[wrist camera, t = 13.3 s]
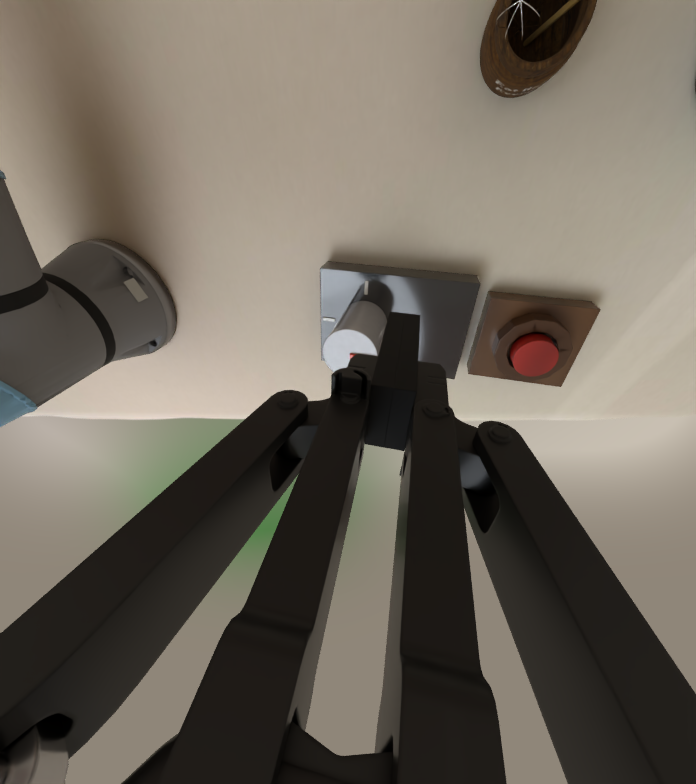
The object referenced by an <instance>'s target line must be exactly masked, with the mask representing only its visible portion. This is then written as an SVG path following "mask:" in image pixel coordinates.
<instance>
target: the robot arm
mask: <svg viewBox="0 0 696 784" xmlns="http://www.w3.org/2000/svg"><path fill="white" fill-rule="evenodd" d="M4 179H6V177H5V175H4V173H3V172H2V171H1V170H0V427H1V426H3V425H5V424H7V423H9V422H11V421H13V420H15V419H17V418H19V417H20V416H22V415H24V414H26V413H29V412H33V411H35V410H36V409H37V407H39V406H40V405H42V404H44V403H45V402H47V401H48V400H50V399H52V398H53V397H55V396H56V395H58V394H60V393H61V392H63V391H64V390H66V389H68V388H69V387H71V386H72V385H74V384H76V383H77V382H79V381H80V380H82V379H84V378H85V377H87V376H88V375H90V374H92V373H93V372H95V371H97V370H98V369H100V368H101V367H103V366H105V365H106V364H108V363H110V362H112V361H116V360H121V359H126V358H130V357H135V356H140V355H144V354H150V353H153V352H155V351H156V350H158V349H160V348H161V347H163V346H164V345H165V344H167V343H168V342H169V341H170V340H171V338H172V337H173V334H174V332H175V327H176V314H175V309H174V305H173V302H172V299H171V297H170V295H169V293H168V291H167V289H166V287H165V285H164V284H163V282H162V281H161V279H160V278H159V276H158V275H157V274H156V272H155V271H154V270H153V269H152V268H151V267H150V266H149V265H148V264H147V263H146V262H145V261H144V260H143V259H142V258H141V257H139V256H138V255H137V254H135V253H134V252H132V251H131V250H129V249H128V248H126V247H124V246H122V245H120V244H118V243H115V242H112V241H108V240H102V239H94V240H89V241H84V242H79V243H76V244H73V245H71V246H70V247H68V248H67V249H66V250H65V251H63V252H62V253H61V254H60V255H58V256H57V257H56V258H55V259H53V260H52V261H51V262H50V263H48V264H47V265H46V266H45V267H43V268H42V269H41V268H40V265H39V263H38V261H37V258H36V256H35V254H34V251H33V249H32V247H31V244H30V242H29V240H28V237H27V235H26V233H25V230H24V228H23V225H22V223H21V220H20V218H19V215H18V213H17V210H16V208H15V206H14V203H13V201H12V198H11V196H10V193H9V191H8V188H7V186H6V183H5V181H4ZM419 335H420V315H416V314H408V313H400V312H391V311H390V312H389V316H388V320H387V324H386V328H385V332H384V336H383V339H382V343H381V347H380V351H379V355H378V356H373V355H366V354H358V353H357V354H356V355H355V356H353V357H352V358H350V361H349V363H348V366H347V367H346V368H341V369H338V370H336V371H335V372H334V373H333V374H332V386H331V397H330V398H328V399H325V400H320V401H308V398H307V397H306V396H305V394H303V393H301V392H299V391H294V390H284V391H281V392H277V393H276V394H274V395H273V396H271V397H270V398H269V399H268V400H267V401H266V402H264V403H263V404H262V405H261V406H260V407H259V408H258V409H256V410H255V411H254V412H253V413H252V414H251V415H250V416H248V417H247V418H246V419H245V420H244V421H243V422H242V423H240V424H239V425H238V426H237V427H236V428H235V429H234V430H233V431H231V432H230V433H229V434H228V435H227V436H226V437H224V438H223V439H222V440H221V441H220V442H219V443H218V444H216V445H215V446H214V447H213V448H212V449H211V450H210V451H209V452H207V453H206V454H205V455H204V456H203V457H202V458H200V459H199V460H198V461H197V462H196V463H195V464H194V465H192V466H191V467H190V468H189V469H188V470H187V471H186V472H184V473H183V474H182V475H181V476H180V477H179V478H178V479H177V480H175V481H174V482H173V483H172V484H171V485H170V486H169V487H167V488H166V489H165V490H164V491H163V492H162V493H161V494H159V495H158V496H157V497H156V498H155V499H154V500H153V501H152V502H150V503H149V504H148V505H147V506H146V507H145V508H143V509H142V510H141V511H140V512H139V513H138V514H137V515H135V516H134V517H133V518H132V519H131V520H130V521H129V522H128V523H126V524H125V525H124V526H123V527H122V528H121V529H120V530H118V531H117V532H116V533H115V534H114V535H113V536H111V537H110V538H109V539H108V540H107V541H106V542H105V543H103V544H102V545H101V546H100V547H99V548H98V549H97V550H95V551H94V552H93V553H92V554H91V555H90V556H89V557H88V558H86V559H85V560H84V561H83V562H82V563H81V564H80V565H79V566H77V567H76V568H75V569H74V570H73V571H72V572H70V573H69V574H68V575H67V576H66V577H65V578H64V579H62V580H61V581H60V582H59V583H58V584H57V585H56V586H54V587H53V588H52V589H51V590H50V591H49V592H48V593H47V594H45V595H44V596H43V597H42V598H41V599H40V600H38V601H37V602H36V603H35V604H34V605H33V606H32V607H31V608H29V609H28V610H27V611H26V612H25V613H24V614H22V615H21V616H20V617H19V618H18V619H17V620H16V621H14V622H13V623H12V624H11V625H10V626H9V627H8V628H7V629H5V630H4V631H3V632H2V633H0V784H65V778H66V773H67V769H68V759H69V758H70V757H72V756H73V754H75V753H76V752H77V751H78V750H79V749H80V748H81V747H82V746H83V745H84V744H85V743H87V742H88V740H89V739H90V738H91V737H92V736H93V735H94V734H95V733H96V732H97V731H98V730H99V729H100V727H102V726H103V724H104V723H105V722H106V721H107V720H108V719H109V718H110V717H111V716H112V715H113V714H114V713H115V712H116V711H117V709H118V708H119V707H120V706H121V704H122V703H123V702H124V701H125V700H126V698H127V697H128V696H129V694H131V692H132V691H133V690H134V688H135V687H136V686H137V685H138V684H139V682H140V681H141V680H142V679H143V677H144V676H145V675H146V673H147V672H148V671H149V669H150V668H151V667H152V665H153V664H154V663H155V662H156V660H157V659H158V658H159V656H160V655H161V654H162V652H163V651H164V650H165V648H166V647H167V646H168V644H169V643H170V642H171V640H172V639H173V638H174V636H175V635H176V634H177V633H178V631H179V630H180V629H181V627H182V626H183V625H184V623H185V622H186V621H187V619H188V618H189V617H190V616H191V614H192V613H193V611H194V610H195V609H196V607H197V606H198V605H199V604H200V602H201V601H202V600H203V598H204V597H205V596H206V595H207V593H208V592H209V591H210V589H211V588H212V586H213V585H214V584H215V583H216V581H217V580H218V579H219V577H220V576H221V575H222V574H223V572H224V571H225V570H226V568H227V567H228V566H229V564H230V563H231V562H232V560H233V559H234V558H235V556H236V555H237V554H238V553H239V551H240V550H241V548H242V547H243V546H244V545H245V543H246V542H247V541H248V539H249V538H250V537H251V535H252V534H253V533H254V532H255V530H256V529H257V527H258V526H259V525H260V524H261V522H262V521H263V520H264V518H265V517H266V516H267V514H268V513H269V512H270V510H271V509H272V508H273V506H274V505H275V504H276V503H277V501H278V500H279V499H280V497H281V496H282V495H283V493H284V492H285V491H286V489H287V488H288V487H289V486H290V484H291V483H292V482H293V480H294V479H295V478H296V476H297V475H298V474H299V475H298V477H297V480H296V482H295V484H294V487H293V489H292V492H291V494H290V497H289V499H288V502H287V504H286V507H285V509H284V511H283V514H282V516H281V519H280V521H279V523H278V526H277V528H276V531H275V533H274V536H273V538H272V540H271V543H270V545H269V548H268V550H267V553H266V555H265V558H264V560H263V562H262V565H261V567H260V570H259V572H258V575H257V577H256V579H255V582H254V585H253V587H252V589H251V592H250V594H249V596H248V599H247V601H246V603H245V605H244V607H243V609H242V611H241V612H240V613H239V614H238V615H236V616H235V617H234V618H232V619H231V621H230V622H229V624H228V626H227V627H226V628H225V630H224V632H223V634H222V636H221V638H220V640H219V642H218V645H217V647H216V649H215V651H214V654H213V656H212V659H211V661H210V663H209V665H208V667H207V670H206V672H205V674H204V677H203V679H202V681H201V684H200V686H199V688H198V690H197V693H196V695H195V698H194V700H193V702H192V704H191V707H190V709H189V711H188V714H187V716H186V718H185V720H184V723H183V725H182V727H181V730H180V732H179V733H178V734H177V735H175V736H174V737H173V738H171V739H170V740H169V741H167V742H166V743H165V744H164V745H163V746H161V747H160V748H159V749H158V750H157V751H156V752H155V753H154V754H152V755H151V756H150V757H149V758H148V759H147V760H146V761H145V762H144V763H143V764H142V765H141V766H140V767H139V768H137V769H136V770H135V771H134V772H133V773H132V774H131V775H130V776H129V777H128V778H127V779H126V780H125V781H124V782H123V783H121V784H506V776H505V768H504V760H503V753H502V744H501V736H500V728H499V720H498V715H497V709H496V703H495V699H494V696H493V693H492V690H491V687H490V686H489V684H488V683H487V681H486V680H485V678H484V677H483V674H482V671H481V667H480V660H479V650H478V641H477V631H476V621H475V611H474V601H473V592H472V582H471V572H470V562H469V553H468V543H467V534H466V523H465V514H464V508H465V511H466V513H467V516H468V519H469V522H470V524H471V527H472V529H473V532H474V535H475V538H476V540H477V543H478V545H479V548H480V551H481V554H482V556H483V559H484V561H485V564H486V567H487V569H488V572H489V575H490V577H491V580H492V583H493V585H494V588H495V591H496V593H497V596H498V599H499V601H500V604H501V607H502V609H503V612H504V614H505V617H506V620H507V623H508V625H509V628H510V631H511V633H512V636H513V639H514V641H515V644H516V647H517V649H518V652H519V654H520V657H521V660H522V663H523V665H524V668H525V670H526V673H527V676H528V678H529V681H530V684H531V686H532V689H533V692H534V694H535V697H536V699H537V702H538V705H539V708H540V710H541V713H542V716H543V718H544V721H545V723H546V726H547V729H548V731H549V734H550V737H551V740H552V742H553V745H554V748H555V750H556V753H557V755H558V758H559V761H560V763H561V766H562V769H563V772H564V774H565V777H566V779H567V782H568V784H696V694H695V692H694V691H693V689H692V688H691V686H690V685H689V683H688V682H687V680H686V679H685V677H684V676H683V675H682V673H681V672H680V670H679V669H678V668H677V666H676V664H675V663H674V661H673V660H672V658H671V657H670V655H669V654H668V652H667V651H666V649H665V648H664V646H663V645H662V644H661V642H660V641H659V639H658V638H657V636H656V635H655V633H654V632H653V630H652V629H651V627H650V626H649V624H648V623H647V621H646V620H645V618H644V617H643V615H642V614H641V612H640V611H639V610H638V608H637V607H636V605H635V604H634V602H633V601H632V599H631V598H630V596H629V595H628V593H627V592H626V590H625V589H624V587H623V586H622V584H621V583H620V582H619V580H618V579H617V577H616V576H615V574H614V573H613V571H612V570H611V568H610V567H609V565H608V564H607V562H606V561H605V559H604V558H603V556H602V555H601V554H600V552H599V550H598V549H597V548H596V546H595V545H594V543H593V542H592V540H591V539H590V537H589V536H588V534H587V533H586V531H585V530H584V528H583V527H582V525H581V524H580V523H579V521H578V519H577V518H576V517H575V515H574V514H573V512H572V511H571V509H570V508H569V506H568V505H567V503H566V502H565V500H564V499H563V497H562V496H561V494H560V493H559V491H558V490H557V489H556V487H555V486H554V484H553V483H552V481H551V480H550V478H549V477H548V475H547V474H546V472H545V471H544V469H543V468H542V466H541V465H540V463H539V462H538V460H537V459H536V457H535V456H534V454H533V453H532V452H531V450H530V449H529V448H528V446H527V444H526V443H525V441H524V440H523V438H522V437H521V435H520V434H519V433H518V432H517V431H516V430H515V429H513V428H512V427H510V426H508V425H506V424H503V423H501V422H496V421H487V422H483V423H481V424H480V425H479V426H478V428H476V427H474V426H471V425H468V424H466V423H464V422H462V421H460V420H458V419H457V418H456V417H455V416H454V412H453V410H452V408H451V407H450V406H449V403H448V392H447V380H446V371H445V370H444V368H443V367H442V366H441V365H440V364H436V363H429V362H422V361H418V357H419ZM364 443H365V444H368V445H374V446H379V447H385V448H391V449H397V450H402V451H404V450H405V452H404V457H403V462H402V467H401V471H400V476H401V485H400V496H399V508H398V520H397V531H396V542H395V554H394V565H393V576H392V577H393V578H392V588H391V599H390V611H389V622H388V634H387V645H386V656H385V668H384V679H383V690H382V698H381V704H380V710H379V717H378V725H377V735H376V746H375V753H373V754H361V755H351V756H339V755H336V754H334V753H333V752H331V751H330V750H329V749H327V748H326V747H325V746H324V745H322V744H321V743H320V742H318V741H317V740H316V739H314V738H313V737H312V736H310V735H309V734H308V733H306V732H305V728H306V724H307V719H308V714H309V709H310V704H311V699H312V693H313V686H314V680H315V674H316V669H317V664H318V659H319V655H320V650H321V646H322V641H323V636H324V632H325V627H326V622H327V618H328V614H329V609H330V604H331V600H332V595H333V590H334V586H335V581H336V577H337V572H338V568H339V562H340V558H341V554H342V549H343V545H344V540H345V535H346V531H347V526H348V522H349V517H350V512H351V508H352V503H353V499H354V494H355V489H356V485H357V480H358V476H359V471H360V466H361V462H362V457H363V450H364Z"/></svg>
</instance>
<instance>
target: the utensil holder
mask: <svg viewBox="0 0 696 784" xmlns="http://www.w3.org/2000/svg"><path fill="white" fill-rule="evenodd" d="M596 3H597V0H497V1H496V3H495V5H494V7H493V10H492V12H491V14H490V17H489V20H488V22H487V25H486V28H485V31H484V35H483V39H482V43H481V50H480V66H481V72H482V75H483V78H484V81H485V83H486V84H487V86H488V87H489V88H490V89H491V91H493V92H494V93H495V94H497V95H499V96H502V97H507V98H514V97H519V96H523V95H525V94H528V93H530V92H532V91H533V90H535V89H537V88H538V87H539V86H541V85H542V84H543V83H545V82H546V81H547V80H549V79H550V78H551V77H552V76H553V75H554V74H556V73H557V72H558V71H559V70H560V69H561V67H562V66H563V65H564V64H565V63H566V62H567V60H568V59H569V58H570V56H571V55H572V53H573V52H574V50H575V49H576V47H577V45H578V43H579V41H580V40H581V38H582V36H583V35H584V33H585V31H586V29H587V27H588V25H589V23H590V21H591V18H592V16H593V13H594V10H595V7H596Z"/></svg>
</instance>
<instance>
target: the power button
mask: <svg viewBox="0 0 696 784" xmlns="http://www.w3.org/2000/svg"><path fill="white" fill-rule="evenodd" d="M510 358H511V361H512V364H513V366H514V368H515V370H516V371H517V372H518V373H520V374H522V375H525V376H539V375H542V374H545V373H547V372H548V371H550V370H551V369H552V368H553V367H554V366H555V365H556V363H557V361H558V358H559V352H558V350H557V348H556V346H555V345H554V343H553V342H552V340H551V339H550V338H549V337H548V336H546V335H543V334H539V333H532V334H527V335H525V336H523V337H521V338H519V339H518V340H517V341H516V342H515V343H514V344H513V345H512V347H511V349H510Z"/></svg>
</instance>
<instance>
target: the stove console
mask: <svg viewBox="0 0 696 784" xmlns="http://www.w3.org/2000/svg"><path fill="white" fill-rule="evenodd" d="M479 287H480V282H479V279H478V277H477V275H469V274H458V273H448V272H437V271H426V270H416V269H405V268H394V267H384V266H373V265H363V264H352V263H341V262H331V261H328V262H326V263H325V264H324V265H323V266H322V267H321V268H320V291H321V360H324V357H323V345H324V343H325V341H326V339H327V337H328V336H329V334H330V333H331V331H332V329H333V328H334V326H335V325H336V323H337V321H338V320H339V318H340V317H341V315H342V313H343V312H344V310H345V309H346V308H347V307H348V306H349V305H350V304H352V303H354V302H357V301H368V302H372V303H374V304H376V305H377V306H378V307H380V308H381V309H382V311H383V312H384V314H385V316H386V319H387V320H388V316H389V312H390V311H391V312H400V313H408V314H416V315H420V335H419V357H418V361H422V362H429V363H436V364H440V365H441V366H442V367H443V368H444V370H445V371H446V378H449V379H455V375H456V371H457V368H458V364H459V360H460V357H461V353H462V349H463V346H464V342H465V338H466V335H467V331H468V327H469V324H470V320H471V316H472V313H473V309H474V305H475V302H476V298H477V294H478V291H479ZM324 361H325V360H324Z"/></svg>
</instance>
